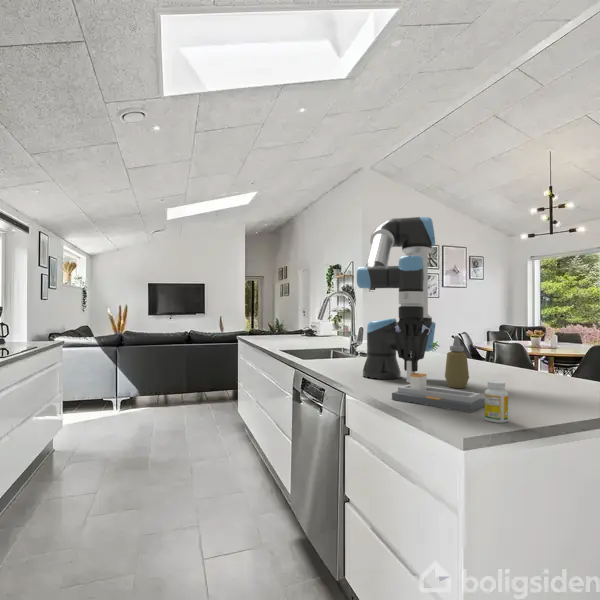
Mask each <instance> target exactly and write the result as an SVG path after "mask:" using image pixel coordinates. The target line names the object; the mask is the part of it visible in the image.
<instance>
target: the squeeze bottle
mask: <svg viewBox="0 0 600 600" xmlns="http://www.w3.org/2000/svg"><path fill="white" fill-rule="evenodd" d="M464 348H465V347H464V346H463V345H461V341H460V337H459V335H455V336H454V338H453V343H452V345H450V346H449V352H446V361H445V362H446V363H445V373H444V378H445V381H446V383H447V386H448V388H452V389H463V388H466V387H467V385H468V382H469V380H470V374H469V373H470V372H469V365H468V364H469V363H468V355H467V353H466V352H464V351H465V349H464Z"/></svg>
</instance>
